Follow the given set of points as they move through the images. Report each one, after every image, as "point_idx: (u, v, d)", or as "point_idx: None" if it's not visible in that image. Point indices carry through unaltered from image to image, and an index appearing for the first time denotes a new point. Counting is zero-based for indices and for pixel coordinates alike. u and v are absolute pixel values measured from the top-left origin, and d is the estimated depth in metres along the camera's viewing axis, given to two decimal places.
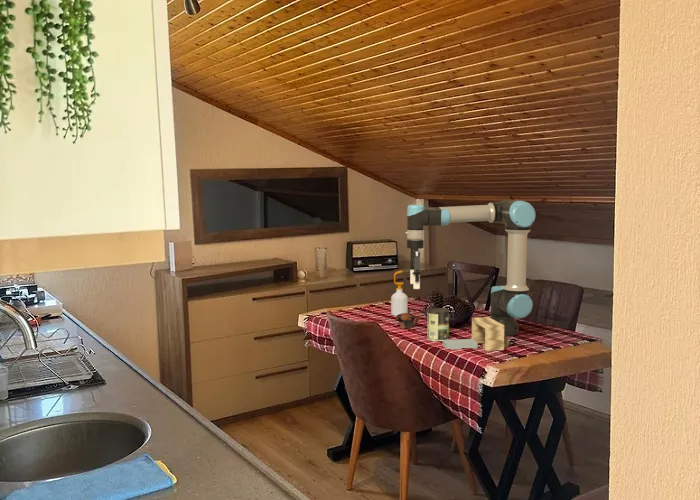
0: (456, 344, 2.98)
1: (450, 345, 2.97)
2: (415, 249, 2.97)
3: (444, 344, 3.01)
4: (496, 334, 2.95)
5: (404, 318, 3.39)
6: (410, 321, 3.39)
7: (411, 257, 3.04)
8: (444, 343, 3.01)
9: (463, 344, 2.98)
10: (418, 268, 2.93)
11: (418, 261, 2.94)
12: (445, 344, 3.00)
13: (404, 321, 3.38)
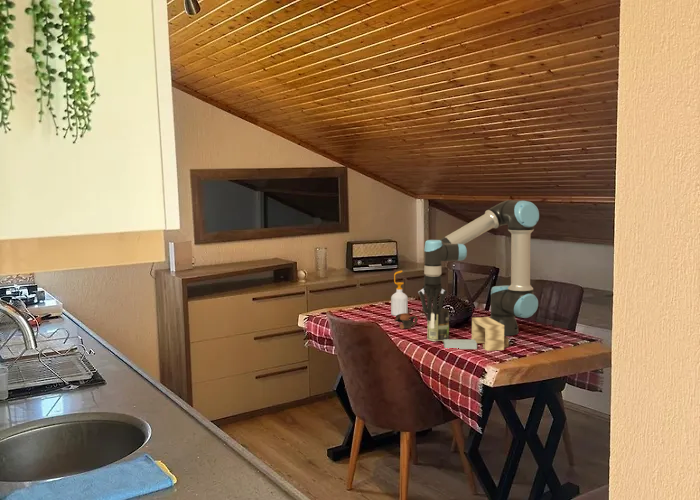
0: (454, 344, 2.98)
1: (448, 344, 2.98)
2: None
3: (444, 343, 3.03)
4: (496, 334, 2.95)
5: (403, 318, 3.38)
6: (409, 321, 3.39)
7: None
8: (444, 342, 3.03)
9: (462, 344, 2.98)
10: (423, 308, 2.96)
11: (422, 301, 2.95)
12: (444, 343, 3.01)
13: (403, 321, 3.38)
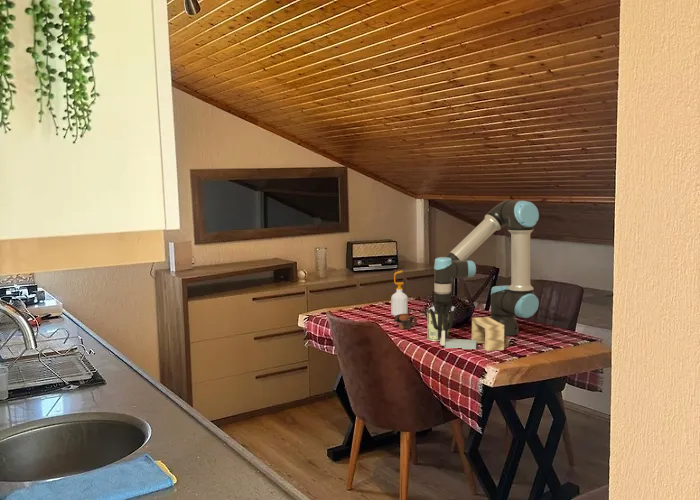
0: (453, 343, 2.99)
1: (447, 344, 3.00)
2: None
3: None
4: (496, 334, 2.95)
5: (403, 318, 3.38)
6: (409, 321, 3.38)
7: None
8: None
9: (460, 344, 2.98)
10: (434, 325, 2.98)
11: (432, 318, 2.97)
12: None
13: (403, 321, 3.37)
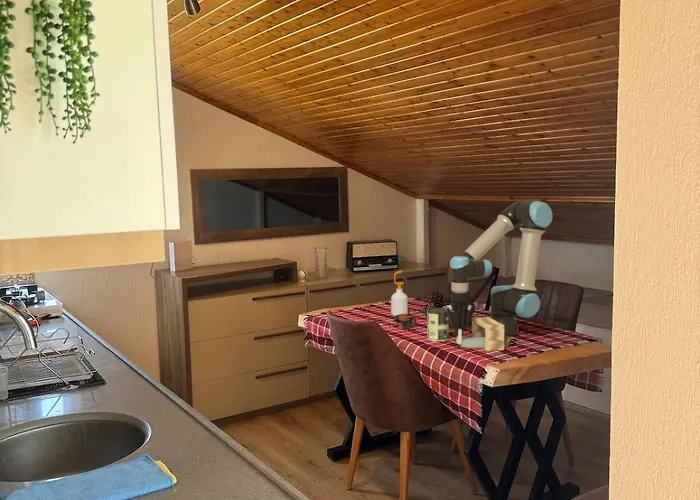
0: (470, 341, 3.01)
1: (463, 342, 3.01)
2: None
3: None
4: (496, 334, 2.95)
5: (402, 319, 3.37)
6: (408, 322, 3.38)
7: None
8: None
9: (477, 342, 3.01)
10: (451, 324, 2.99)
11: (449, 317, 2.99)
12: None
13: (402, 322, 3.37)
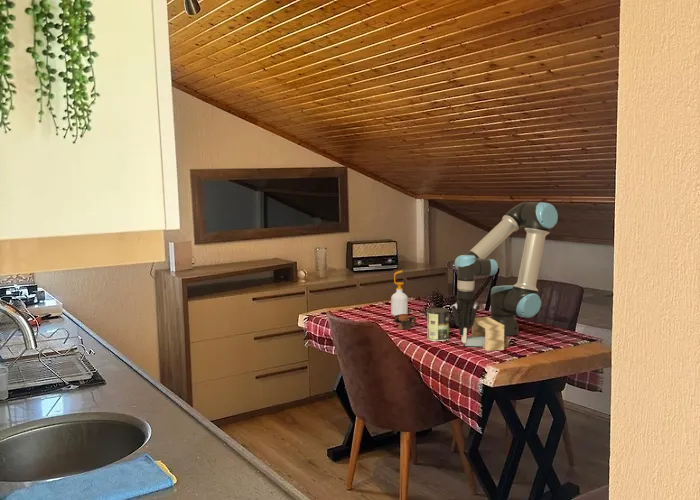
0: (475, 340, 3.01)
1: (468, 341, 3.01)
2: None
3: None
4: (496, 334, 2.95)
5: (402, 319, 3.37)
6: (408, 322, 3.37)
7: None
8: None
9: (482, 340, 3.01)
10: (456, 322, 2.99)
11: (455, 315, 2.99)
12: None
13: (402, 322, 3.36)
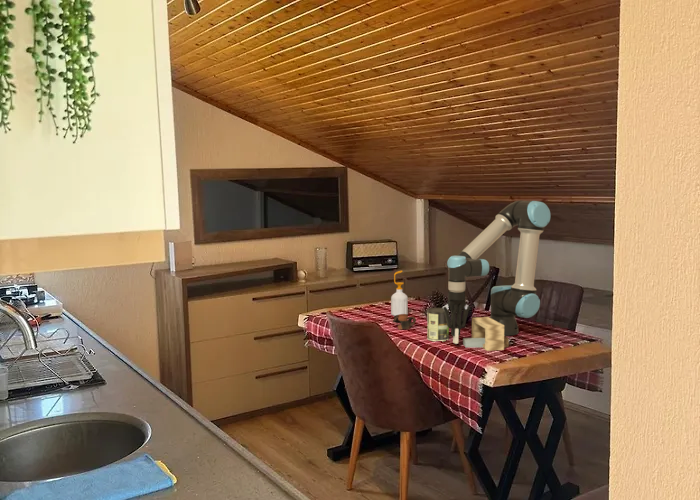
0: (475, 342, 3.01)
1: (468, 343, 3.01)
2: None
3: (464, 342, 3.05)
4: (496, 334, 2.95)
5: (401, 319, 3.37)
6: (407, 322, 3.37)
7: None
8: (464, 341, 3.05)
9: (482, 342, 3.01)
10: (447, 323, 2.99)
11: (446, 316, 2.98)
12: (464, 342, 3.03)
13: (402, 322, 3.36)
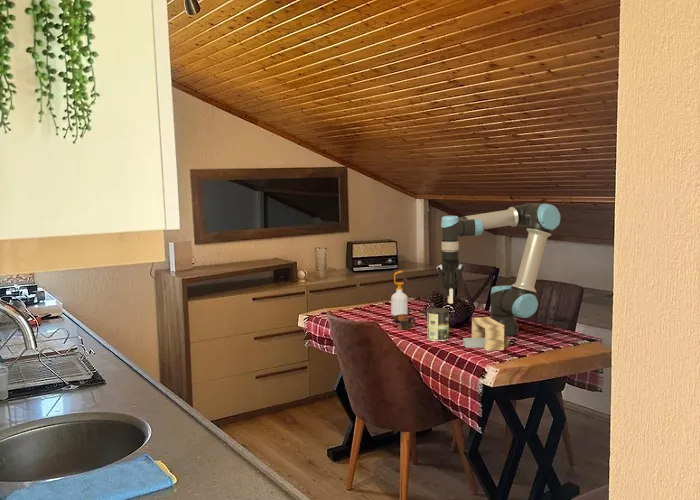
0: (475, 342, 3.01)
1: (468, 343, 3.01)
2: None
3: (464, 342, 3.05)
4: (496, 334, 2.95)
5: (401, 319, 3.36)
6: (407, 322, 3.37)
7: None
8: (464, 341, 3.05)
9: (482, 342, 3.01)
10: (442, 283, 2.99)
11: (440, 276, 2.98)
12: (464, 342, 3.03)
13: (401, 322, 3.36)
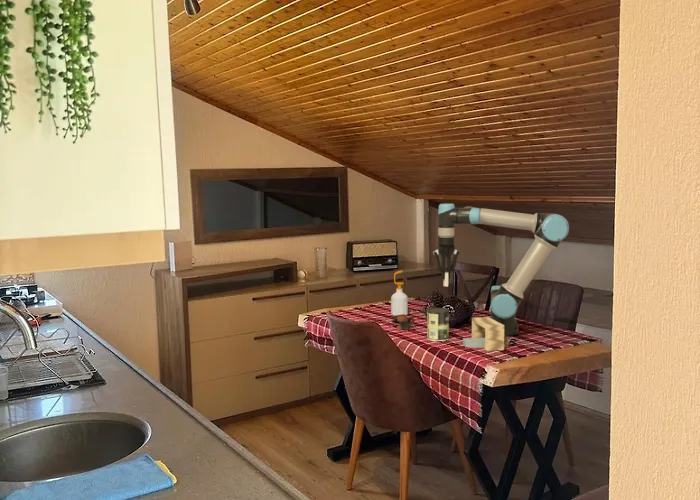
0: (475, 342, 3.01)
1: (469, 343, 3.00)
2: None
3: (464, 342, 3.05)
4: (496, 334, 2.95)
5: (400, 319, 3.36)
6: (406, 322, 3.36)
7: None
8: (464, 341, 3.05)
9: (482, 342, 3.01)
10: (438, 267, 3.16)
11: (436, 261, 3.16)
12: (464, 342, 3.03)
13: (400, 322, 3.35)
